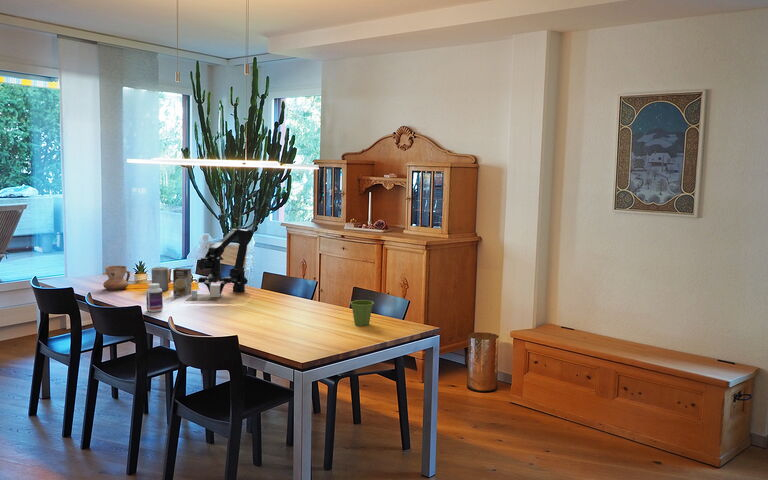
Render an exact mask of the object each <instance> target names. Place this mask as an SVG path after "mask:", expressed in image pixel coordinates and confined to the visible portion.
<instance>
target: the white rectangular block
mask: <svg viewBox="0 0 768 480" xmlns="http://www.w3.org/2000/svg"><path fill="white" fill-rule="evenodd" d="M220 284H221V283H216V284H215V283H211V285H210V292H209V294H210V297H220V296H221V295H222V294H221V295H220Z"/></svg>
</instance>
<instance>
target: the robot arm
mask: <svg viewBox="0 0 768 480" xmlns="http://www.w3.org/2000/svg"><path fill="white" fill-rule="evenodd" d="M253 235H254V234H253V232H252V230H251V229H247V228H241V229H238V228H232V229H230V231H229V232H228V233H226V235H225V236H224V237H222V239H220V240H219V241H218V242H217V243H214V244H213V245H211V246H210V247H208V250H207V252H206V254H205V256H204V257H201V258H200V260H199V261H198V264H197V265H198V269H199V270H201V271H204V270H209V275H208V276H199V278H198V280H197V281H198V282H197V283H199V284H203V285H205V286H206V288H207V289H208V292H209V293H210V285H211V284H212V283H213V284H215V283H216V284H217V283H218V282H220V283H219V284H220V295H222V292H223V290H224V287H225V285H226V284H227V285H228V284H231V283H232V284H233V286H232V292H233V293H245V292H246V285H247V284H248V281H249V280H248V279H247V278H246V277H245V269H244V263H245V258H246V255H247V254H246V253H247V250H248V246H249V244H250V242H251V241H252V238H253ZM236 238H237V239H238V242H239V244H238V248H237V253H236V259H235V264H234V266H233V268H232V267H231V268H229V274H228V275H229V276H225V277H223V278H222V275H221V270H222V268H221V261H222V260H224V257H222V256H223V254H224V252H225V249H226V248H227V247H228V246H229V244H231V243H232V242H233V241H234V240H235V239H236Z"/></svg>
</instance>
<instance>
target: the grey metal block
mask: <svg viewBox="0 0 768 480" xmlns="http://www.w3.org/2000/svg"><path fill="white" fill-rule="evenodd" d="M197 294H198V289H191V296H192V299H197Z"/></svg>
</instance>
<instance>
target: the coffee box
mask: <svg viewBox="0 0 768 480" xmlns="http://www.w3.org/2000/svg"><path fill="white" fill-rule="evenodd" d="M172 278H173V279H172V280H173V281H172V284H173V285H172V286H173V287H172V289H173V290H172V291H173V292H172V293H173V294H172V296H173V297H181V296H189V295H192V292H191V291H192V268H184V267H183V268H182V267H176V268H174V269H173V271H172Z"/></svg>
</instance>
